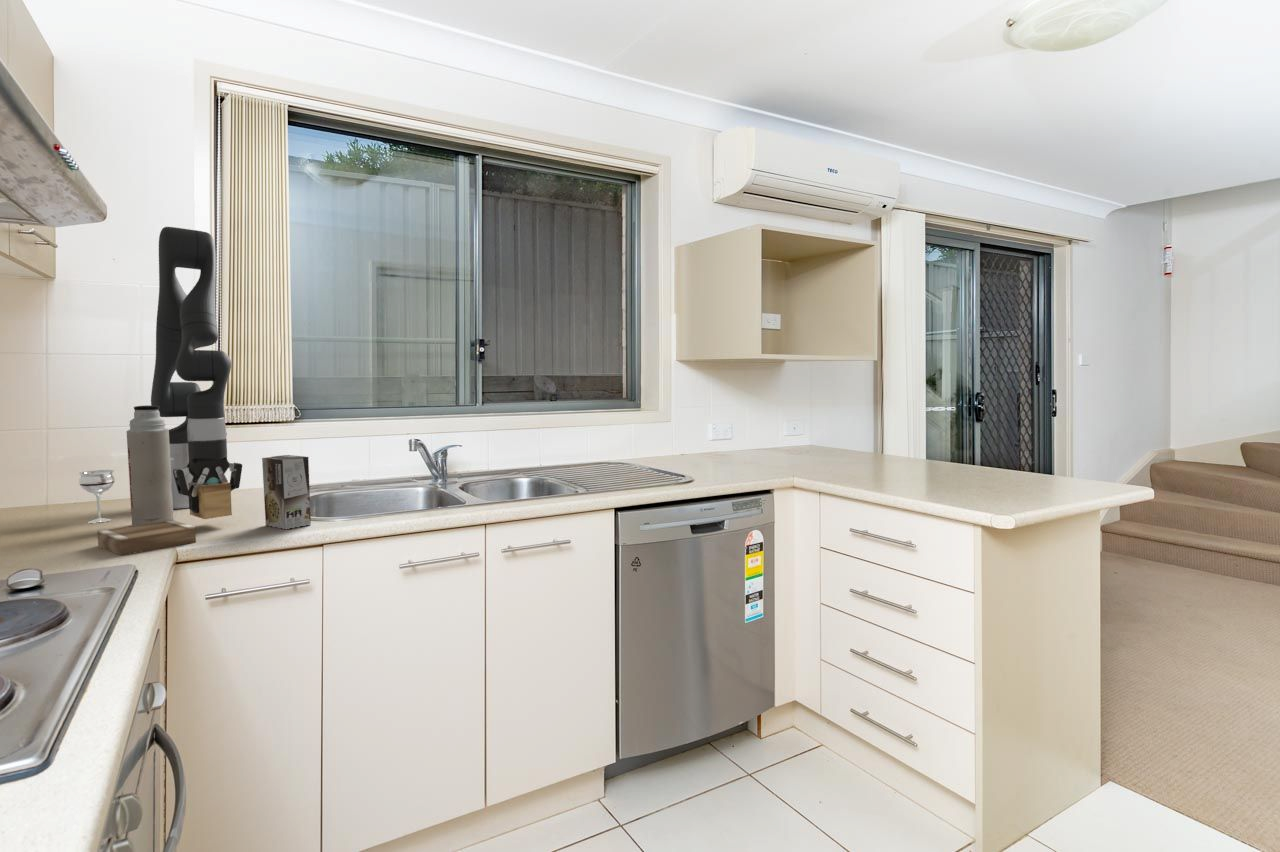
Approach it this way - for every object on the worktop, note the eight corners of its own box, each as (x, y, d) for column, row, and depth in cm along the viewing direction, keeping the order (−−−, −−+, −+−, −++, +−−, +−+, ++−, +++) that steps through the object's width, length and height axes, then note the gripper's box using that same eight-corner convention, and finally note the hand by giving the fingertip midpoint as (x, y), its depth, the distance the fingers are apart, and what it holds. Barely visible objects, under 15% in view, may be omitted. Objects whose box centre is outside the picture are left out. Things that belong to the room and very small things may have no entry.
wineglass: (124, 518, 166) (121, 469, 166) (102, 524, 160) (99, 473, 159) (97, 518, 167) (94, 469, 166) (73, 524, 160) (70, 473, 159)
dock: (98, 545, 139) (97, 530, 139) (170, 533, 149) (170, 519, 149) (121, 555, 131) (120, 538, 131) (195, 542, 142) (195, 526, 142)
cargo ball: (199, 487, 156) (201, 473, 156) (214, 488, 158) (216, 474, 159) (205, 489, 154) (208, 476, 154) (220, 490, 157) (222, 476, 157)
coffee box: (312, 525, 158) (309, 456, 157) (285, 530, 153) (282, 459, 152) (291, 520, 163) (288, 454, 162) (264, 525, 158) (261, 456, 157)
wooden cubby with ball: (190, 514, 157) (188, 482, 156) (216, 510, 161) (215, 479, 161) (205, 519, 152) (203, 486, 152) (231, 515, 157) (230, 483, 156)
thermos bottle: (126, 529, 154) (119, 406, 152) (138, 522, 162) (131, 405, 159) (168, 526, 157) (161, 405, 155) (177, 520, 164) (171, 404, 162)
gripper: (233, 434, 163) (236, 503, 165) (164, 439, 152) (168, 513, 153) (248, 436, 159) (250, 507, 160) (178, 441, 147) (182, 517, 149)
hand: (210, 509), depth 157 cm, fingers closed on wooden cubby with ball, 5 cm apart
